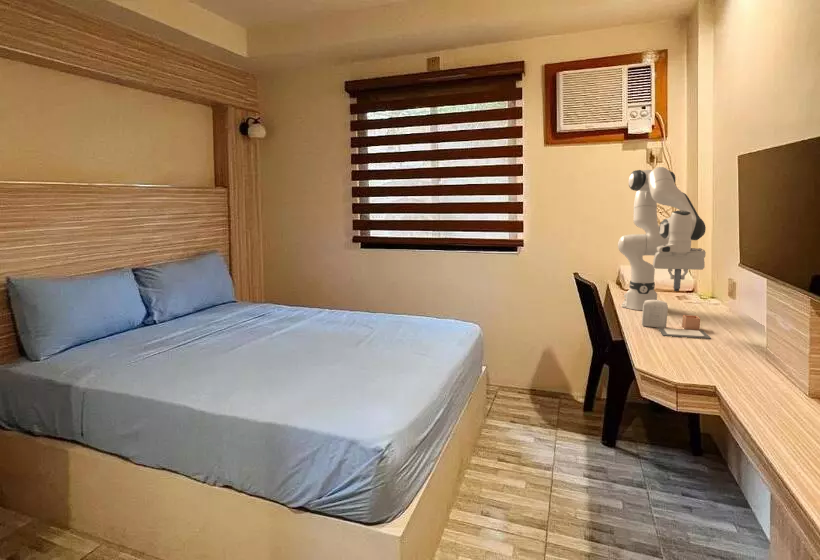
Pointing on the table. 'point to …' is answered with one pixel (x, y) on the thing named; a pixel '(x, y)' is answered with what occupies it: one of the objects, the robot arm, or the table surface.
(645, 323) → the photo printer
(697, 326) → the pen holder
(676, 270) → the marker
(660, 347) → the table surface
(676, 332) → the writing board
